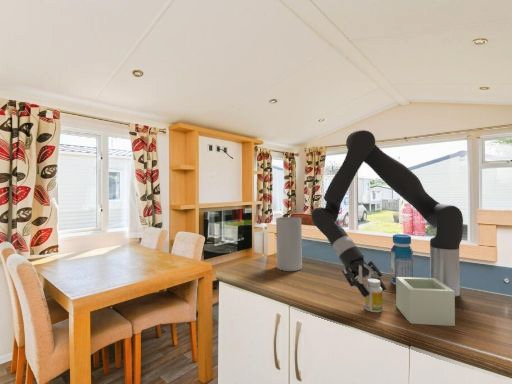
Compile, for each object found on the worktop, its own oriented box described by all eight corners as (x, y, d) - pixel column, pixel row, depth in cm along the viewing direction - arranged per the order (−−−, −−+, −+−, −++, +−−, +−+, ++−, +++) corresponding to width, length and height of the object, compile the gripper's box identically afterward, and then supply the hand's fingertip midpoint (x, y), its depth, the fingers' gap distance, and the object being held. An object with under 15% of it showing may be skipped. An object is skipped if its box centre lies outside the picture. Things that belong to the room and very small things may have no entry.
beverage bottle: (403, 288, 112) (402, 237, 112) (386, 281, 120) (385, 234, 120) (418, 285, 115) (418, 236, 115) (400, 279, 123) (400, 233, 123)
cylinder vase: (272, 266, 145) (271, 218, 145) (292, 263, 151) (291, 216, 150) (286, 273, 134) (285, 220, 134) (307, 269, 140) (306, 218, 139)
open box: (396, 306, 95) (396, 276, 95) (434, 308, 94) (434, 278, 94) (410, 323, 84) (410, 289, 83) (454, 325, 82) (454, 291, 82)
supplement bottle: (362, 309, 94) (362, 280, 93) (368, 304, 97) (368, 276, 97) (379, 314, 90) (378, 284, 90) (385, 308, 94) (384, 280, 94)
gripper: (339, 248, 96) (368, 292, 87) (366, 243, 104) (396, 283, 94) (328, 260, 101) (354, 303, 91) (354, 254, 108) (382, 294, 99)
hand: (375, 293), depth 93 cm, fingers open, 8 cm apart
